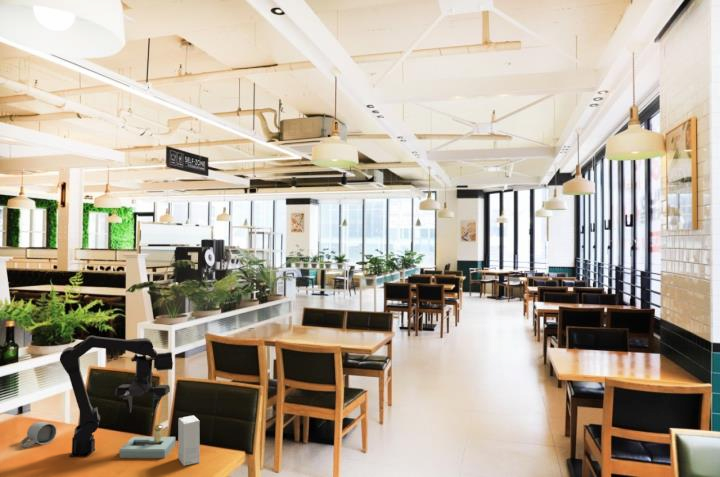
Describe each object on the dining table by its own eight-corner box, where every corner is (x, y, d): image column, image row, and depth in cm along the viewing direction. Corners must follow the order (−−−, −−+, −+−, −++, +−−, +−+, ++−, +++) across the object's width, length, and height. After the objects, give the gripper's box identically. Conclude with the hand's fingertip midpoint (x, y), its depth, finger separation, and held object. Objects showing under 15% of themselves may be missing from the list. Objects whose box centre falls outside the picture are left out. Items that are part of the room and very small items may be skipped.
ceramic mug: (44, 436, 196) (45, 417, 196) (56, 440, 192) (57, 421, 192) (15, 446, 186) (16, 425, 186) (27, 450, 182) (28, 429, 182)
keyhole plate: (119, 457, 177) (119, 449, 178) (133, 445, 189) (133, 436, 189) (164, 458, 178) (164, 449, 178) (175, 445, 190) (175, 436, 190)
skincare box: (199, 463, 175) (201, 420, 175) (182, 466, 172) (183, 423, 172) (193, 454, 182) (194, 414, 182) (176, 458, 179) (178, 416, 179)
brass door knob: (148, 454, 181) (149, 428, 182) (153, 448, 186) (153, 423, 187) (161, 454, 182) (162, 428, 182) (165, 449, 186) (166, 424, 187)
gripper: (109, 376, 182) (108, 419, 181) (161, 377, 183) (159, 419, 182) (122, 369, 193) (121, 409, 193) (170, 370, 194) (169, 410, 194)
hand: (142, 412), depth 190 cm, fingers open, 9 cm apart
